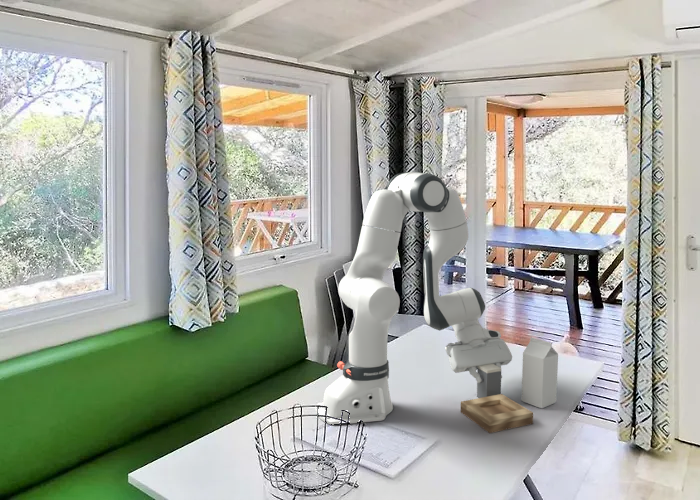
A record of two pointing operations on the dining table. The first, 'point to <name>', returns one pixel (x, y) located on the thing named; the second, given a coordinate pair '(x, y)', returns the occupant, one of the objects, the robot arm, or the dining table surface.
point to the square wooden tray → (496, 413)
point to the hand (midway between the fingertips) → (490, 380)
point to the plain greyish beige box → (489, 380)
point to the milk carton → (539, 373)
